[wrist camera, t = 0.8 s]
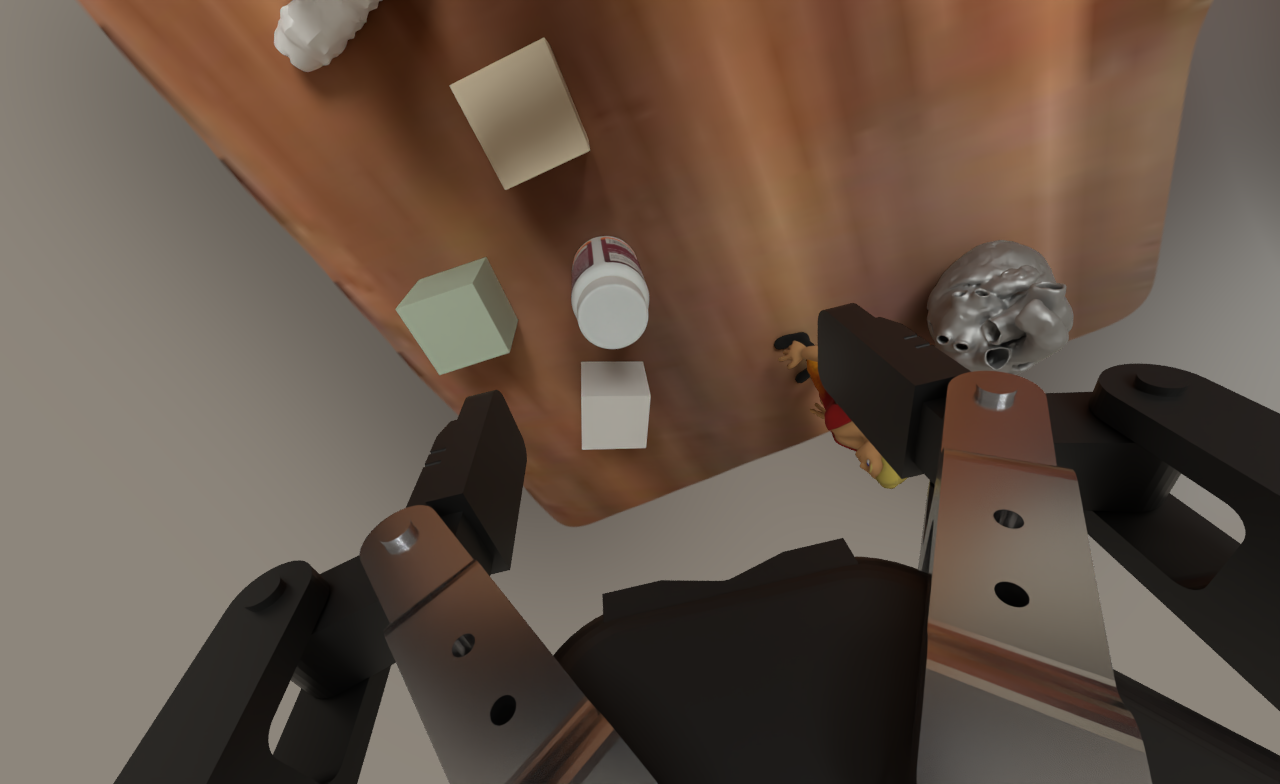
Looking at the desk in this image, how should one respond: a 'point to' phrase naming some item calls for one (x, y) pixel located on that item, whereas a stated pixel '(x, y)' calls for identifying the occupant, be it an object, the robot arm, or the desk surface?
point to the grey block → (614, 405)
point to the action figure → (836, 411)
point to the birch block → (522, 114)
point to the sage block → (460, 316)
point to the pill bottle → (609, 293)
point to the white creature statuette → (319, 29)
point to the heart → (999, 309)
